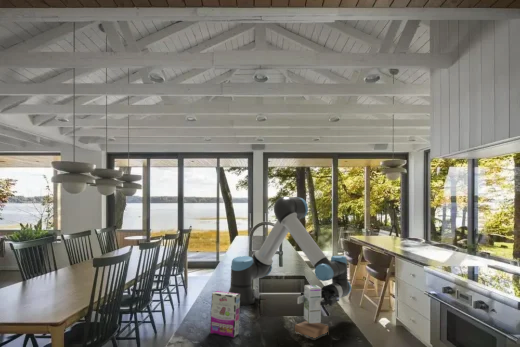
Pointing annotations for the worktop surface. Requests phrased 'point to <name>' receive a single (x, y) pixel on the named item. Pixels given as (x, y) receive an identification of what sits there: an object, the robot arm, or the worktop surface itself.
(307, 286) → the syrup box
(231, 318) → the candy bar box
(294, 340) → the worktop surface
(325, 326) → the wood block
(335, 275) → the robot arm
